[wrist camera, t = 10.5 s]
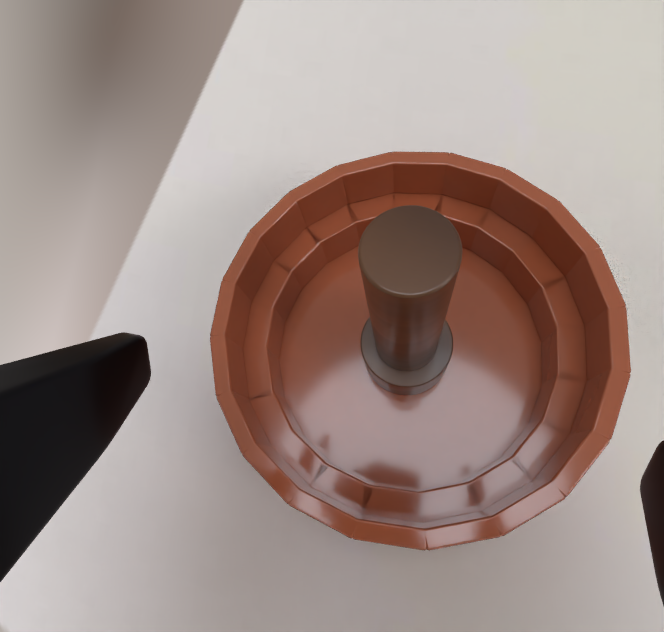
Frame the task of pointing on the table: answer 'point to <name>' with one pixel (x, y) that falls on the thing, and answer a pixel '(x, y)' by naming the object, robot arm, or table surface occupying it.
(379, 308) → the grey flanged cylindrical pin
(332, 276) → the bowl
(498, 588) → the table surface
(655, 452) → the robot arm
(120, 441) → the table surface
